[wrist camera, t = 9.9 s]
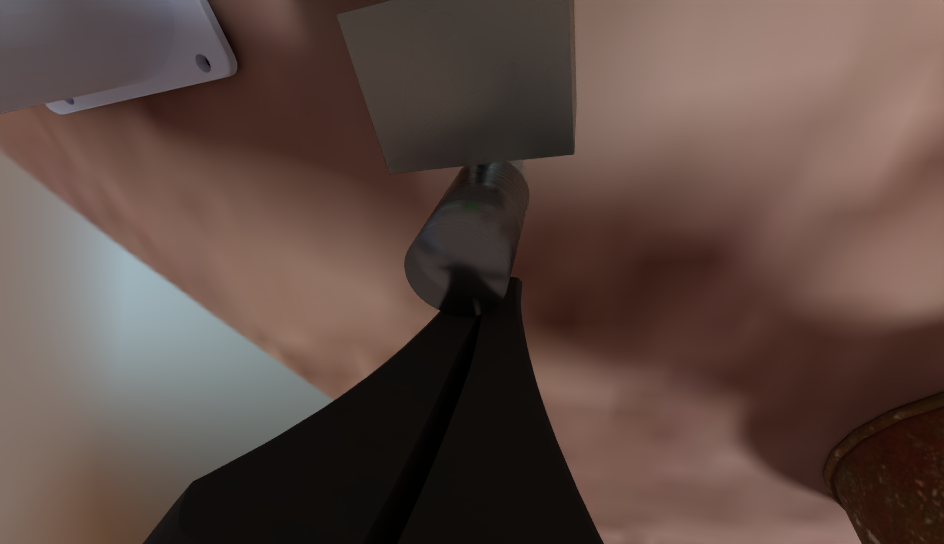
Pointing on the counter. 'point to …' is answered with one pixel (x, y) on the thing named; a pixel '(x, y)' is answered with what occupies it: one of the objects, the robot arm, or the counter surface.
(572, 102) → the pin mount
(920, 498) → the oil lamp
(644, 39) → the counter surface
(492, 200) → the pin
